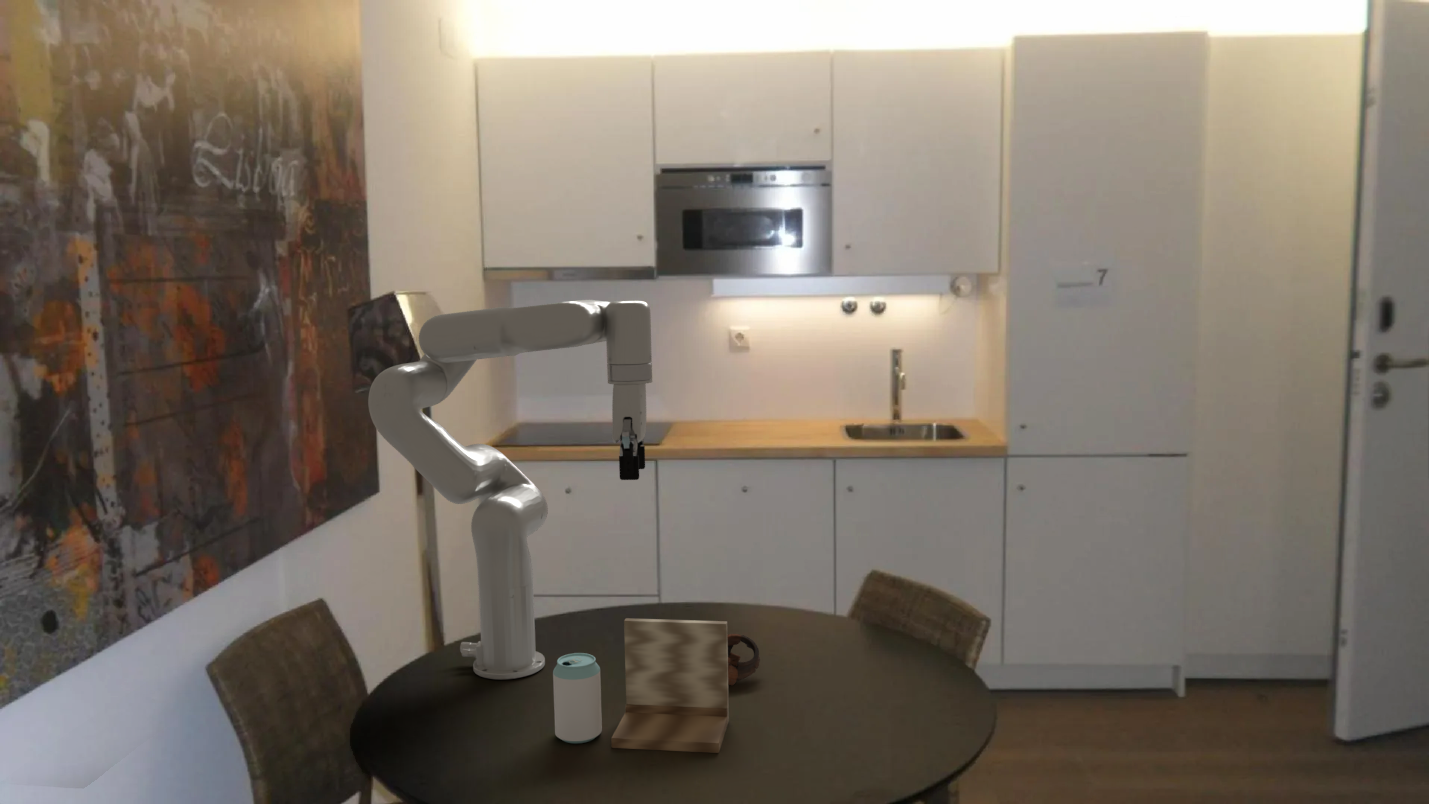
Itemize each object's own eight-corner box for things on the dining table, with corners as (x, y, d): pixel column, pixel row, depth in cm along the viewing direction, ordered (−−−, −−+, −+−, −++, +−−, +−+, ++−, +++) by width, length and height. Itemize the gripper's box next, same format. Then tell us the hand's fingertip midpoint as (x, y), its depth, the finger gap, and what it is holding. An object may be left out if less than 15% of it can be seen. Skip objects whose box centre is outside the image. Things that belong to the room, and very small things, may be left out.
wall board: (611, 747, 154) (608, 642, 152) (628, 716, 165) (625, 618, 163) (718, 752, 152) (717, 646, 150) (728, 720, 163) (727, 621, 161)
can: (589, 748, 154) (587, 669, 153) (547, 742, 156) (544, 665, 155) (609, 728, 161) (607, 653, 159) (568, 723, 163) (565, 648, 161)
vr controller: (753, 665, 187) (764, 634, 183) (750, 706, 179) (762, 675, 175) (687, 650, 187) (698, 618, 182) (682, 691, 179) (693, 659, 174)
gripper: (614, 370, 185) (617, 465, 187) (600, 379, 167) (603, 484, 169) (656, 369, 184) (659, 464, 186) (647, 378, 167) (650, 483, 169)
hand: (632, 474), depth 178 cm, fingers open, 9 cm apart
